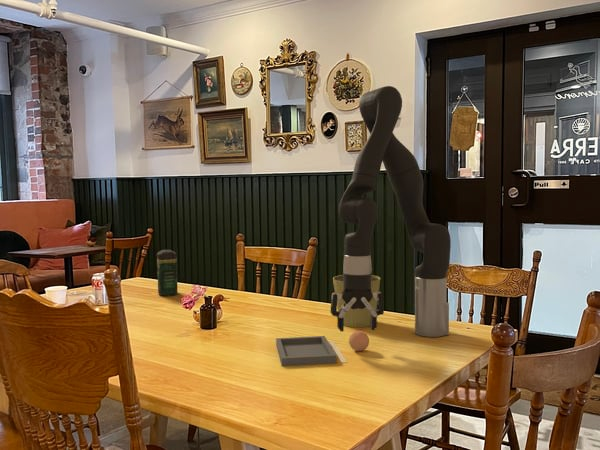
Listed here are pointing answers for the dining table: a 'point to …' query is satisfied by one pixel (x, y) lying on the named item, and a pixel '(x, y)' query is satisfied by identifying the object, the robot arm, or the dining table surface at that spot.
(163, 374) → the dining table surface
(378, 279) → the potted cactus
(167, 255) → the coffee jar
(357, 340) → the ball
